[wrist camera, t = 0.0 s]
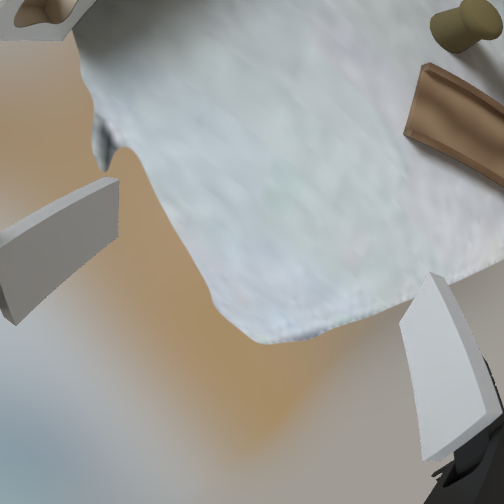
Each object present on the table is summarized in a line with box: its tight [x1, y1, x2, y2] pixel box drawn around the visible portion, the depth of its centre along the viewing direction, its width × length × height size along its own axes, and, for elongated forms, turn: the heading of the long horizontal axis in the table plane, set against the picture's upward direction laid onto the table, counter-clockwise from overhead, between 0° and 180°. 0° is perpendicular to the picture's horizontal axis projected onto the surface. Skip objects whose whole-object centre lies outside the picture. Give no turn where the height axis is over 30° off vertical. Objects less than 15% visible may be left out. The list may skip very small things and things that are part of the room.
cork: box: [430, 0, 503, 53], centre depth 18 cm, size 6×6×11 cm
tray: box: [403, 63, 504, 187], centre depth 26 cm, size 10×27×5 cm, turn 77°
